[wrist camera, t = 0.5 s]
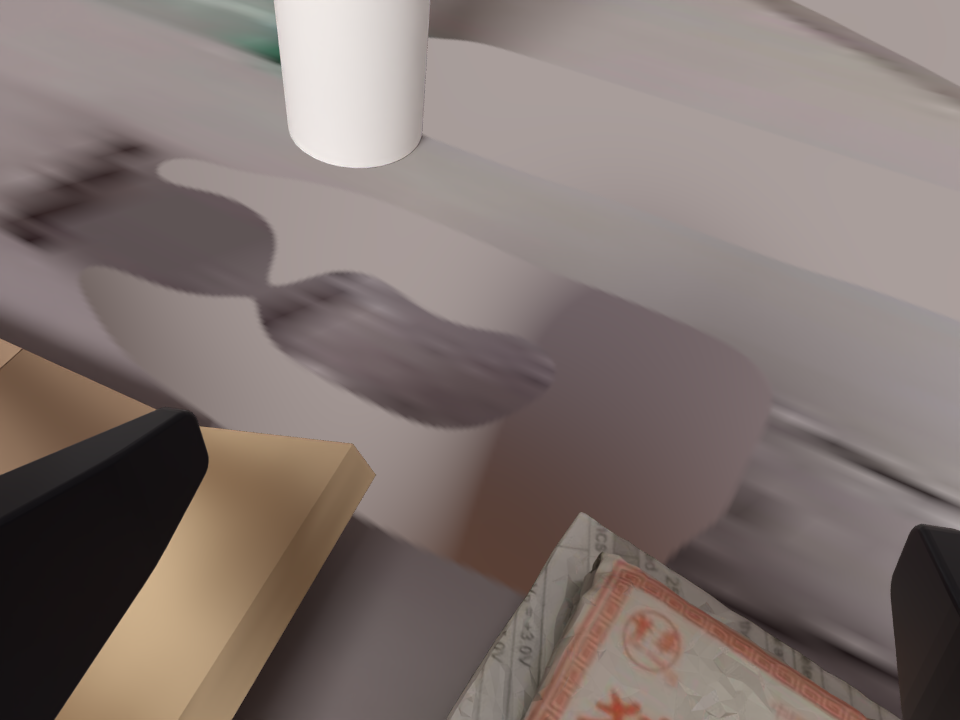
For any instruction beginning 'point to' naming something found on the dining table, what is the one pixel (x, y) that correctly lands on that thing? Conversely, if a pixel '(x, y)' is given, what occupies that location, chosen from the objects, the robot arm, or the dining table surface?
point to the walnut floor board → (52, 407)
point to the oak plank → (225, 579)
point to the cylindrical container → (354, 77)
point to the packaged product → (642, 650)
